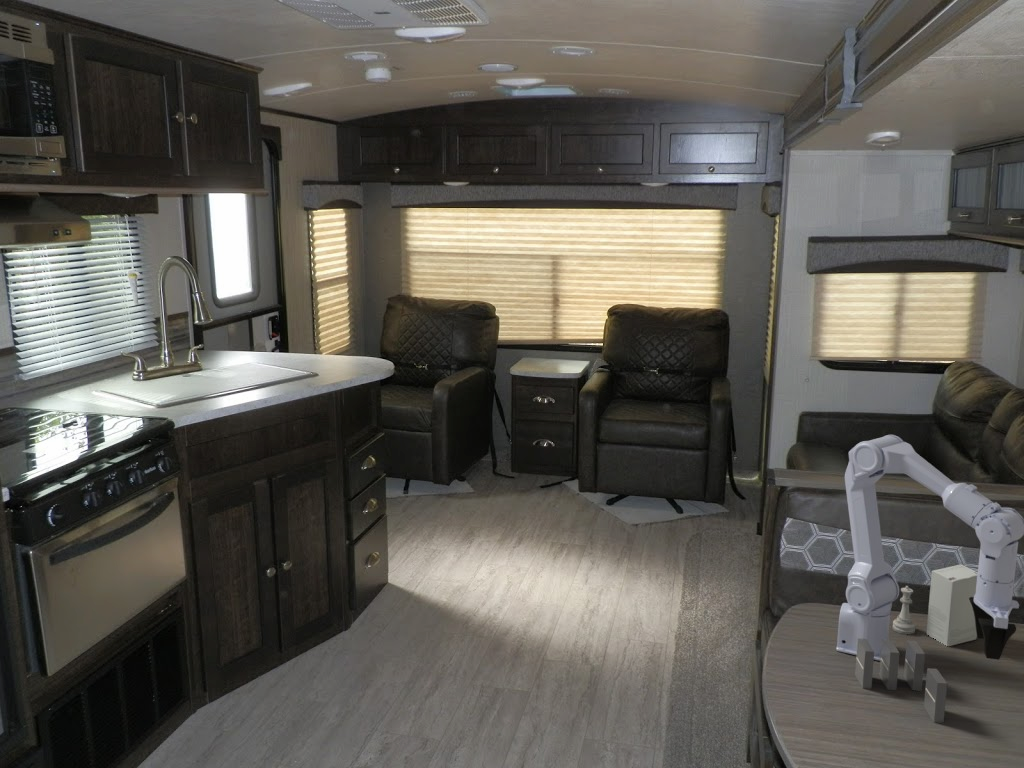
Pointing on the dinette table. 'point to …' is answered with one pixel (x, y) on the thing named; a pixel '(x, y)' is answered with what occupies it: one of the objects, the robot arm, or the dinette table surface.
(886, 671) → the domino
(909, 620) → the chess piece
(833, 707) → the dinette table surface
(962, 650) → the dinette table surface
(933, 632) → the skincare box
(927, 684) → the domino
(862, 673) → the domino
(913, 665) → the domino
